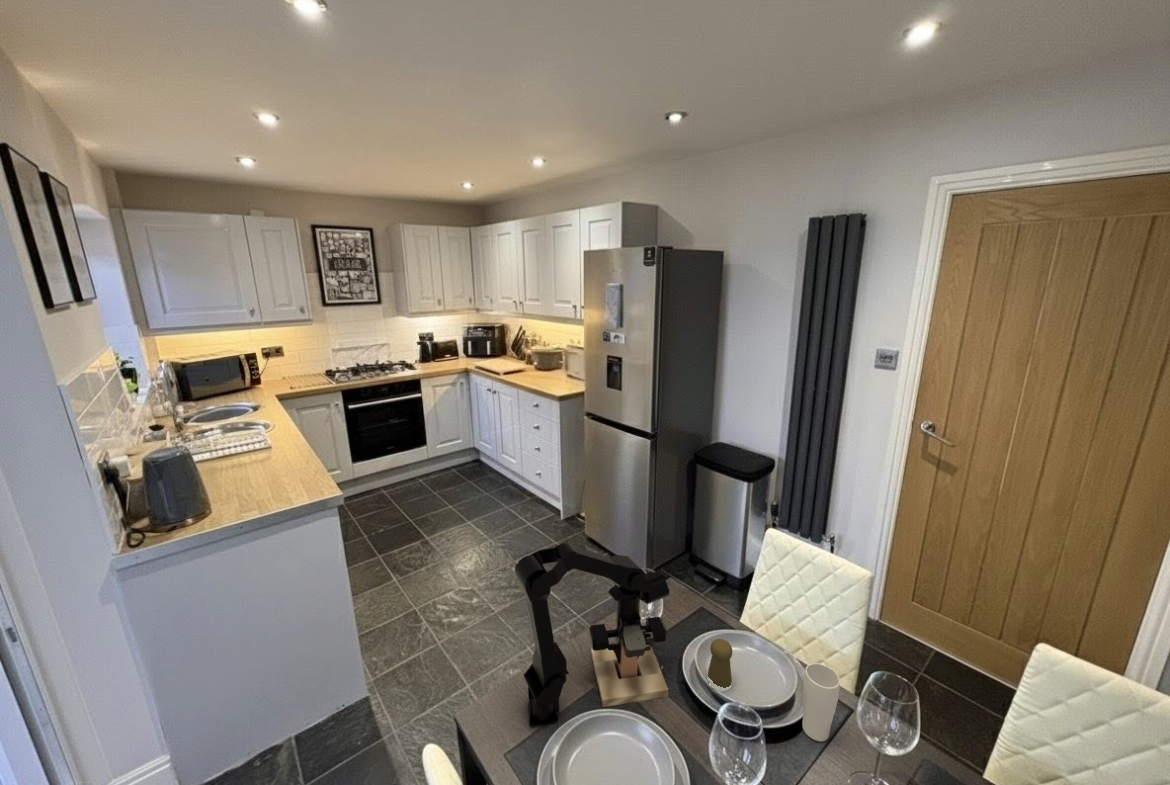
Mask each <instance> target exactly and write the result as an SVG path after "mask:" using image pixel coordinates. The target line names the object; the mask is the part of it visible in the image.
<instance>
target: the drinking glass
mask: <svg viewBox="0 0 1170 785" xmlns="http://www.w3.org/2000/svg"><path fill="white" fill-rule="evenodd" d="M840 685H841V679H840V676H839V674H837V672H836V671H835V670H834V669H833V668H831V667H830V666H828V665H825V664H824V663H818V662H813V663H809V664H808V665H806V667H805V670H804V676H803V686H802V687H803V688H802V689H803V690H802V691H803V692H802V697H803V698H802V699H803V700H802V702H803V703H802V729H803V731H804V733H805V735H807V736H808V737H809V738H810V739H812V740H814V741H816V742H824V741H827V740H828V739H829V738H830V732H831V728H832V724H833V719H834V715H835V712H836V708H837V704H838V701H839V695H840V687H841V686H840Z"/></svg>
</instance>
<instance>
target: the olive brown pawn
mask: <svg viewBox="0 0 1170 785" xmlns="http://www.w3.org/2000/svg"><path fill="white" fill-rule="evenodd" d="M709 648H710V654H711V659H710V663H709V667H708V670H707V675H708V677H709V678H710V679H711V680H712V681H713V683H714V684H716V685H717V686H720V687H723V688H726V687H729V686H730V685H731V682H732V683H733V681H732V680H733V679H732V669H731V668H732V667H731V658H732V657H733V648H732V645H731V644H730V642H729V641H728V640H726V639H724V638H715V639H713V641H712V642H711V644H710V647H709Z"/></svg>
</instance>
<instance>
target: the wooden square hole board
mask: <svg viewBox="0 0 1170 785" xmlns="http://www.w3.org/2000/svg"><path fill="white" fill-rule="evenodd" d="M650 648H651V650H649V651H645V654H644V655H643V656H639V658H638V660H637V672H638V673H639V675H637V677H631V678H624V679H621V678H619V675H618V672H617V669H616V667H618V661H617V658H616V655H615V653H614V651H613V650H608V649H605V650H598V651H595V650H593V649H592V647H591V648H590V657H591V659H592V664H593V669H594V673H595V679H596V683H597V687H598V691H599V696H600V700H601V704H602V705H601V706H602V708H605V707H611V706H618V705H623V704H631V703H637V702H643V701H648V700H649V701H651V700H655V699H663V698H668V697H669V688H668V685H667V683H666V681H665V678H664V675H663V673H662V670H661V667H660V665H659V662H658V660H657V657H656V655H655V652H654V650H653V647H650Z"/></svg>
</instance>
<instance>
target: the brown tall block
mask: <svg viewBox="0 0 1170 785" xmlns="http://www.w3.org/2000/svg"><path fill="white" fill-rule="evenodd" d="M618 644H619V647H620V649H619V651H620V659H621V660H620V664H619V663H618V666H617V668H618V672H619V674H620V679H624V678H631V677H637V676H638V669H637V658H638V656H635V657H631V658H628V657H626V655H625V652H624V647H623V643H622V640H619V639H618Z"/></svg>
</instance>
